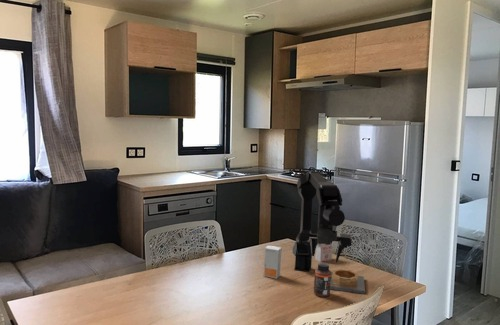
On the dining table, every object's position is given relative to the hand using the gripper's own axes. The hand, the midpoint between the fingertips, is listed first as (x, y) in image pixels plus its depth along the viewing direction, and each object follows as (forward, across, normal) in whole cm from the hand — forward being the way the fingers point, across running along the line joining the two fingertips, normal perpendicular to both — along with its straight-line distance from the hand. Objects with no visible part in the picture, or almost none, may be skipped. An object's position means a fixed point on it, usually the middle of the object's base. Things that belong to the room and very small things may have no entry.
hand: (323, 260), depth 147 cm
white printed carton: (+13, -2, +39) cm, 41 cm away
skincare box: (+13, -21, +11) cm, 27 cm away
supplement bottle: (+13, 0, 0) cm, 13 cm away
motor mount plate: (+13, +8, +13) cm, 20 cm away
